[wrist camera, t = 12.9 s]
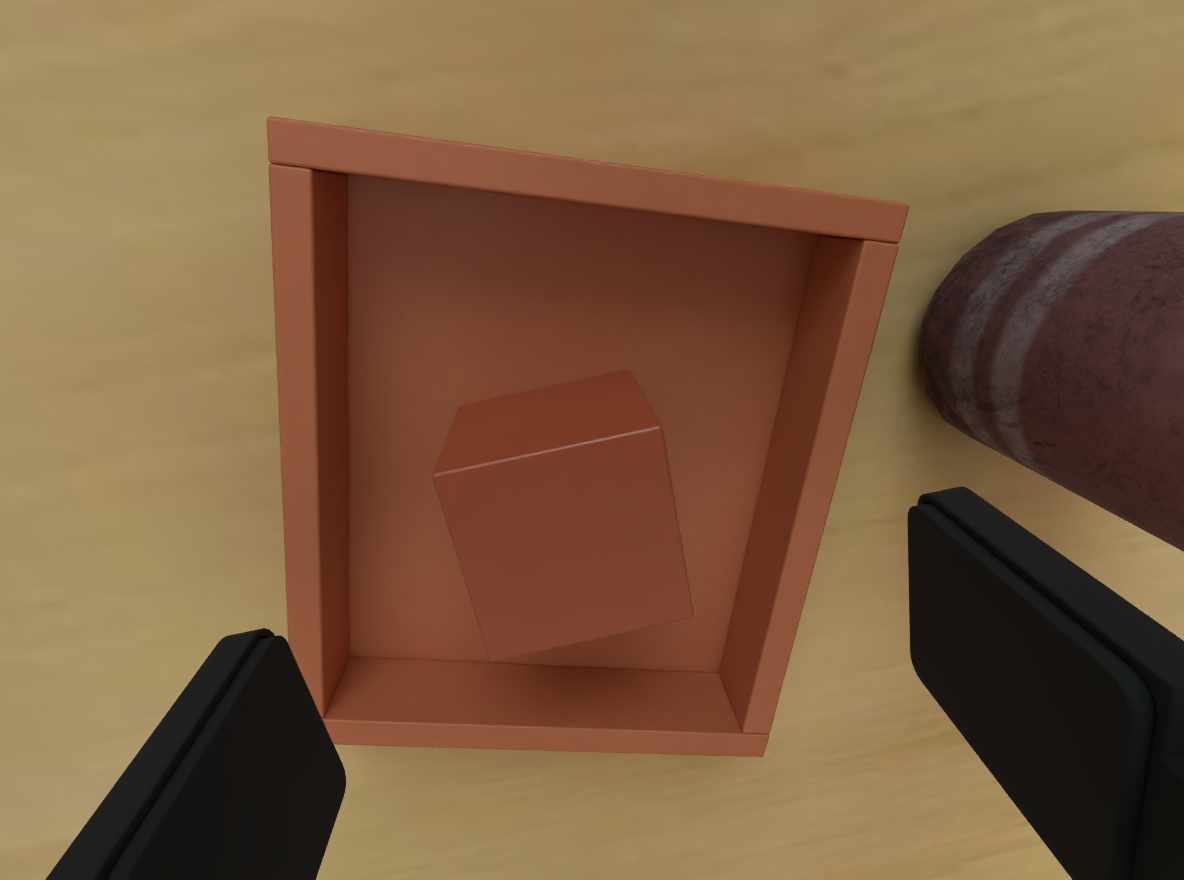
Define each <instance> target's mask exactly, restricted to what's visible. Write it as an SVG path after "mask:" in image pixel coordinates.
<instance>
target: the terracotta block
mask: <svg viewBox="0 0 1184 880" xmlns="http://www.w3.org/2000/svg"><path fill="white" fill-rule="evenodd" d="M433 480H434V483H435V487H436V490H437V493H438V496H439V499H440V503H441V506H442V509H443V512H444V516H445V519H446V522H447V525H448V528H449V532H450V535H451V538H452V541H453V545H454V548H455V551H456V554H457V557H458V561H459V564H460V567H461V570H462V574H463V577H464V580H465V583H466V586H467V590H468V593H469V596H470V599H471V603H472V606H473V609H474V612H475V615H476V619H477V622H478V625H479V628H480V632H481V635H482V638H483V641H484V645H485V648H486V651H487V654H488V657H489V659H490V661H497V660H501V659H506V658H511V657H515V656H520V655H525V654H529V653H534V652H538V651H543V650H548V649H552V648H557V647H562V646H566V645H571V644H576V643H580V642H585V641H589V640H594V639H599V638H603V637H608V636H613V635H617V634H622V633H627V632H631V631H636V630H640V629H645V628H650V627H654V626H659V625H664V624H668V623H673V622H678V621H682V620H687V619H691V618H693V615H694V612H693V606H692V600H691V594H690V588H689V582H688V576H687V571H686V565H685V559H684V553H683V547H682V541H681V535H680V529H679V523H678V517H677V511H676V505H675V499H674V493H673V487H672V481H671V475H670V469H669V463H668V457H667V451H666V445H665V439H664V433H663V428H662V426H661V424H660V422H659V421H658V419H657V417H656V415H655V414H654V412H653V410H652V408H651V406H650V405H649V403H648V401H647V399H646V398H645V396H644V394H643V392H642V390H641V389H640V387H639V385H638V383H637V381H636V380H635V378H634V376H633V374H632V373H631V371H629V370H626V371H622V372H617V373H612V374H607V375H603V376H598V377H593V378H589V379H584V380H579V381H574V382H570V383H565V384H560V385H556V386H551V387H546V388H542V389H537V390H532V391H527V392H523V393H518V394H513V395H509V396H504V397H499V398H494V399H490V400H485V401H480V402H476V403H471V404H466V405H462V406H459V407H458V409H457V412H456V414H455V417H454V420H453V422H452V425H451V428H450V430H449V433H448V436H447V438H446V441H445V443H444V446H443V449H442V451H441V454H440V457H439V459H438V462H437V464H436V467H435V470H434V472H433Z"/></svg>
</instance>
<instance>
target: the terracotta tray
mask: <svg viewBox="0 0 1184 880" xmlns="http://www.w3.org/2000/svg"><path fill="white" fill-rule="evenodd" d="M267 137H268V159H269V161H270V162H271V163H273V164H270V165H269V184H270V209H271V233H272V257H273V281H274V305H275V329H276V353H277V377H278V401H279V425H280V449H281V473H282V497H283V521H284V545H285V569H286V593H287V617H288V641H289V647H290V649H291V651H292V653H293V655H294V658H295V660H296V662H297V664H298V667H299V669H300V671H301V673H302V675H303V678H304V680H305V682H306V684H307V687H308V689H309V691H310V693H311V695H312V698H313V700H314V702H315V704H316V706H317V709H318V711H319V713H320V715H321V718H322V720H323V722H324V724H325V726H326V729H327V731H328V733H329V735H330V738H331V740H332V742H333V744H344V745H378V746H411V747H445V748H478V749H512V750H545V751H579V752H612V753H646V754H679V755H713V756H746V757H763V756H764V753H765V750H766V746H767V742H768V738H769V733H770V729H771V726H772V722H773V718H774V714H775V711H776V707H777V703H778V699H779V696H780V692H781V688H782V684H783V680H784V677H785V673H786V669H787V665H788V662H789V658H790V654H791V650H792V647H793V643H794V639H795V635H796V632H797V628H798V624H799V620H800V616H801V613H802V609H803V605H804V601H805V598H806V594H807V590H808V586H809V583H810V579H811V575H812V571H813V568H814V564H815V560H816V556H817V552H818V549H819V545H820V541H821V537H822V534H823V530H824V526H825V522H826V519H827V515H828V511H829V507H830V503H831V500H832V496H833V492H834V488H835V485H836V481H837V477H838V473H839V470H840V466H841V462H842V458H843V455H844V451H845V447H846V443H847V439H848V436H849V432H850V428H851V424H852V421H853V417H854V413H855V409H856V406H857V402H858V398H859V394H860V391H861V387H862V383H863V379H864V375H865V372H866V368H867V364H868V360H869V357H870V353H871V349H872V345H873V342H874V338H875V334H876V330H877V327H878V323H879V319H880V315H881V311H882V308H883V304H884V300H885V296H886V293H887V289H888V285H889V281H890V278H891V274H892V270H893V266H894V262H895V259H896V255H897V251H898V245H897V244H896V243H899V242H900V240H901V236H902V233H903V229H904V225H905V221H906V217H907V214H908V210H909V205H908V204H907V203H902V202H895V201H887V200H880V199H873V198H865V197H858V196H851V195H843V194H836V193H829V192H821V191H814V190H807V189H799V188H792V187H785V186H777V185H770V184H763V183H755V182H748V181H741V180H733V179H726V178H718V177H711V176H704V175H696V174H689V173H682V172H674V171H667V170H660V169H652V168H645V167H638V166H630V165H623V164H616V163H608V162H601V161H594V160H586V159H579V158H572V157H564V156H557V155H550V154H542V153H535V152H528V151H520V150H513V149H506V148H498V147H491V146H483V145H476V144H469V143H461V142H454V141H447V140H439V139H432V138H425V137H417V136H410V135H403V134H395V133H388V132H381V131H373V130H366V129H359V128H351V127H344V126H337V125H329V124H322V123H315V122H307V121H300V120H293V119H285V118H278V117H268V118H267ZM626 370H629V371H631V373H632V374H633V376H634V378H635V380H636V381H637V383H638V385H639V387H640V389H641V390H642V392H643V394H644V396H645V398H646V399H647V401H648V403H649V405H650V406H651V408H652V410H653V412H654V414H655V415H656V417H657V419H658V421H659V422H660V424H661V426H662V428H663V433H664V439H665V445H666V451H667V457H668V463H669V469H670V475H671V481H672V487H673V493H674V499H675V505H676V511H677V517H678V523H679V529H680V535H681V541H682V547H683V553H684V559H685V565H686V571H687V576H688V582H689V588H690V594H691V600H692V606H693V612H694V615H693V618H691V619H687V620H682V621H678V622H673V623H668V624H664V625H659V626H654V627H650V628H645V629H640V630H636V631H631V632H627V633H622V634H617V635H613V636H608V637H603V638H599V639H594V640H589V641H585V642H580V643H576V644H571V645H566V646H562V647H557V648H552V649H548V650H543V651H538V652H534V653H529V654H525V655H520V656H515V657H511V658H506V659H501V660H497V661H490V659H489V657H488V654H487V651H486V648H485V645H484V641H483V638H482V635H481V632H480V628H479V625H478V622H477V619H476V615H475V612H474V609H473V606H472V603H471V599H470V596H469V593H468V590H467V586H466V583H465V580H464V577H463V574H462V570H461V567H460V564H459V561H458V557H457V554H456V551H455V548H454V545H453V541H452V538H451V535H450V532H449V528H448V525H447V522H446V519H445V516H444V512H443V509H442V506H441V503H440V499H439V496H438V493H437V490H436V487H435V483H434V480H433V472H434V470H435V467H436V464H437V462H438V459H439V457H440V454H441V451H442V449H443V446H444V443H445V441H446V438H447V436H448V433H449V430H450V428H451V425H452V422H453V420H454V417H455V414H456V412H457V409H458V407H459V406H462V405H466V404H471V403H476V402H480V401H485V400H490V399H494V398H499V397H504V396H509V395H513V394H518V393H523V392H527V391H532V390H537V389H542V388H546V387H551V386H556V385H560V384H565V383H570V382H574V381H579V380H584V379H589V378H593V377H598V376H603V375H607V374H612V373H617V372H622V371H626Z"/></svg>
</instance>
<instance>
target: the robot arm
mask: <svg viewBox="0 0 1184 880" xmlns="http://www.w3.org/2000/svg"><path fill="white" fill-rule="evenodd" d="M908 562H909V614H910V654H911V660H912V664H913V666H914V669H915V671H916V673H917V675H918V677H919V678H920V680H921V681H922V683H923V684H924V685H925V687H926V688H927V689H928V691H929V692H930V693H931V695H932V696H933V697H934V698H935V700H936V701H937V702H938V704H939V705H940V706H941V708H942V709H943V710H944V712H945V713H946V714H947V716H948V717H949V718H950V719H951V721H952V722H953V723H954V725H955V726H956V727H957V729H958V730H959V731H960V733H961V734H962V735H963V737H964V738H965V739H966V740H967V742H968V743H969V744H970V746H971V747H972V748H973V750H974V751H975V752H976V754H977V755H978V756H979V758H980V759H981V760H982V761H983V763H984V764H985V765H986V767H987V768H988V769H989V771H990V772H991V773H992V775H993V776H994V777H995V779H996V780H997V781H998V782H999V784H1000V785H1001V786H1002V788H1003V789H1004V790H1005V792H1006V793H1007V794H1008V796H1009V797H1010V798H1011V800H1012V801H1013V802H1014V803H1015V805H1016V806H1017V807H1018V809H1019V810H1020V811H1021V813H1022V814H1023V815H1024V817H1025V818H1026V819H1027V821H1028V822H1029V823H1030V824H1031V826H1032V827H1033V828H1034V830H1035V831H1036V832H1037V834H1038V835H1039V836H1040V838H1041V839H1042V840H1043V842H1044V843H1045V844H1046V845H1047V847H1048V848H1049V849H1050V851H1051V852H1052V853H1053V855H1054V856H1055V857H1056V859H1057V860H1058V861H1059V863H1060V864H1061V865H1062V866H1063V868H1064V869H1065V870H1066V872H1067V873H1068V874H1069V876H1070V877H1071V878H1072V880H1184V641H1183V640H1181V639H1180V638H1179V637H1177V636H1176V635H1174V634H1173V633H1172V632H1170V631H1169V630H1167V629H1166V628H1165V627H1163V626H1162V625H1160V624H1159V623H1157V622H1156V621H1155V620H1153V619H1152V618H1150V617H1149V616H1148V615H1146V614H1145V613H1143V612H1142V611H1140V610H1139V609H1138V608H1136V607H1135V606H1133V605H1132V604H1131V603H1129V602H1128V601H1126V600H1125V599H1124V598H1122V597H1121V596H1119V595H1118V594H1116V593H1115V592H1114V591H1112V590H1111V589H1109V588H1108V587H1107V586H1105V585H1104V584H1102V583H1101V582H1100V581H1098V580H1097V579H1095V578H1094V577H1092V576H1091V575H1090V574H1088V573H1087V572H1085V571H1084V570H1083V569H1081V568H1080V567H1078V566H1077V565H1075V564H1074V563H1073V562H1071V561H1070V560H1068V559H1067V558H1066V557H1064V556H1063V555H1061V554H1060V553H1059V552H1057V551H1056V550H1054V549H1053V548H1051V547H1050V546H1049V545H1047V544H1046V543H1044V542H1043V541H1042V540H1040V539H1039V538H1037V537H1036V536H1035V535H1033V534H1032V533H1030V532H1029V531H1027V530H1026V529H1025V528H1023V527H1022V526H1020V525H1019V524H1018V523H1016V522H1015V521H1013V520H1012V519H1011V518H1009V517H1008V516H1006V515H1005V514H1003V513H1002V512H1001V511H999V510H998V509H996V508H995V507H994V506H992V505H991V504H989V503H988V502H986V501H985V500H984V499H982V498H981V497H979V496H978V495H977V494H975V493H974V492H972V491H971V490H970V489H968V488H965V487H956V488H951V489H947V490H942V491H937V492H932V493H927V494H923V495H922V496H920V498H919V500H918V504H917V506H913V507H911V508H910V509H909V512H908ZM345 787H346V775H345V770H344V767H343V764H342V762H341V760H340V758H339V755H338V753H337V751H336V749H335V746H334V744H333V742H332V740H331V738H330V735H329V733H328V731H327V729H326V726H325V724H324V722H323V720H322V718H321V715H320V713H319V711H318V709H317V706H316V704H315V702H314V700H313V698H312V695H311V693H310V691H309V689H308V687H307V684H306V682H305V680H304V678H303V675H302V673H301V671H300V669H299V667H298V664H297V662H296V660H295V658H294V655H293V653H292V651H291V649H290V647H289V644H288V642H287V641H286V639H285V638H284V637H282V636H275V635H274V633H273V632H271V631H270V630H269V629H265V628H264V629H259V630H254V631H249V632H244V633H239V634H234V635H229V636H226V637H224V638H223V639H222V640H221V641H220V642H219V643H218V644H217V645H216V647H215V648H214V650H213V651H212V652H211V654H210V655H209V656H208V658H207V659H206V660H205V662H204V663H203V665H202V666H201V667H200V669H199V670H198V671H197V673H196V674H195V676H194V677H193V678H192V680H191V681H190V682H189V684H188V685H187V686H186V688H185V689H184V691H183V692H182V693H181V695H180V696H179V697H178V699H177V700H176V702H175V703H174V704H173V706H172V707H171V708H170V710H169V711H168V713H167V714H166V715H165V717H164V718H163V719H162V721H161V722H160V723H159V725H158V726H157V728H156V729H155V730H154V732H153V733H152V734H151V736H150V737H149V739H148V740H147V741H146V743H145V744H144V745H143V747H142V748H141V749H140V751H139V752H138V754H137V755H136V756H135V758H134V759H133V760H132V762H131V763H130V765H129V766H128V767H127V769H126V770H125V771H124V773H123V774H122V776H121V777H120V778H119V780H118V781H117V782H116V784H115V785H114V786H113V788H112V789H111V791H110V792H109V793H108V795H107V796H106V797H105V799H104V800H103V802H102V803H101V804H100V806H99V807H98V808H97V810H96V811H95V813H94V814H93V815H92V817H91V818H90V819H89V821H88V822H87V823H86V825H85V826H84V828H83V829H82V830H81V832H80V833H79V834H78V836H77V837H76V839H75V840H74V841H73V843H72V844H71V845H70V847H69V848H68V849H67V851H66V852H65V854H64V855H63V856H62V858H61V859H60V860H59V862H58V863H57V865H56V866H55V867H54V869H53V870H52V871H51V873H50V874H49V876H48V877H47V878H46V880H316V877H317V874H318V871H319V868H320V865H321V862H322V859H323V856H324V853H325V850H326V847H327V844H328V841H329V838H330V835H331V833H332V830H333V827H334V824H335V821H336V818H337V815H338V812H339V809H340V806H341V803H342V800H343V797H344V793H345Z"/></svg>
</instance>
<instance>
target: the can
mask: <svg viewBox="0 0 1184 880" xmlns="http://www.w3.org/2000/svg"><path fill="white" fill-rule="evenodd" d="M920 366H921V370H922V375H923V379H924V384H925V388H926V393H927V395H928V396H929V398H930V399H931V401H932V402H933V404H934V405H935V407H936V408H937V410H938V411H939V413H940V414H941V416H942V417H943V419H944V420H946V421H947V422H948V423H950V424H951V425H953V426H954V427H956V428H957V429H959V430H960V431H962V432H963V433H965V434H966V435H968V436H969V437H971V438H973V439H975V440H977V441H979V442H981V443H982V444H984V445H986V446H988V447H990V448H992V449H994V450H996V451H997V452H999V453H1001V454H1003V455H1005V456H1007V457H1009V458H1010V459H1012V460H1014V461H1016V462H1018V463H1020V464H1022V465H1023V466H1025V467H1027V468H1029V469H1031V470H1033V471H1035V472H1036V473H1038V474H1040V475H1042V476H1044V477H1046V478H1048V479H1050V480H1051V481H1053V482H1055V483H1057V484H1059V485H1061V486H1063V487H1064V488H1066V489H1068V490H1070V491H1072V492H1074V493H1076V494H1077V495H1079V496H1081V497H1083V498H1085V499H1087V500H1089V501H1091V502H1092V503H1094V504H1096V505H1098V506H1100V507H1102V508H1104V509H1105V510H1107V511H1109V512H1111V513H1113V514H1115V515H1117V516H1118V517H1120V518H1122V519H1124V520H1126V521H1128V522H1130V523H1132V524H1133V525H1135V526H1137V527H1139V528H1141V529H1143V530H1145V531H1146V532H1148V533H1150V534H1152V535H1154V536H1156V537H1158V538H1159V539H1161V540H1163V541H1165V542H1167V543H1169V544H1171V545H1173V546H1174V547H1176V548H1178V549H1180V550H1182V551H1184V212H1137V211H1061V212H1048V213H1035V214H1032V215H1030V216H1027V217H1025V218H1022V219H1020V220H1018V221H1015V222H1013V223H1010V224H1008V225H1005V226H1003V227H1001V228H998V229H996V230H995V231H994V232H993V233H991V234H990V235H989V236H987V237H986V238H985V239H984V240H982V241H981V242H980V243H979V244H977V245H976V246H975V247H973V248H972V249H971V250H970V251H968V252H967V253H966V254H965V255H963V257H962V258H961V259H960V260H959V261H958V263H957V264H956V265H955V267H954V268H953V269H952V271H951V272H950V273H949V275H948V276H947V277H946V278H945V280H944V281H943V282H942V284H941V285H940V286H939V288H938V289H937V290H936V292H935V295H934V297H933V300H932V302H931V305H930V307H929V310H928V312H927V314H926V317H925V319H924V322H923V330H922V339H921V349H920Z"/></svg>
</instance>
